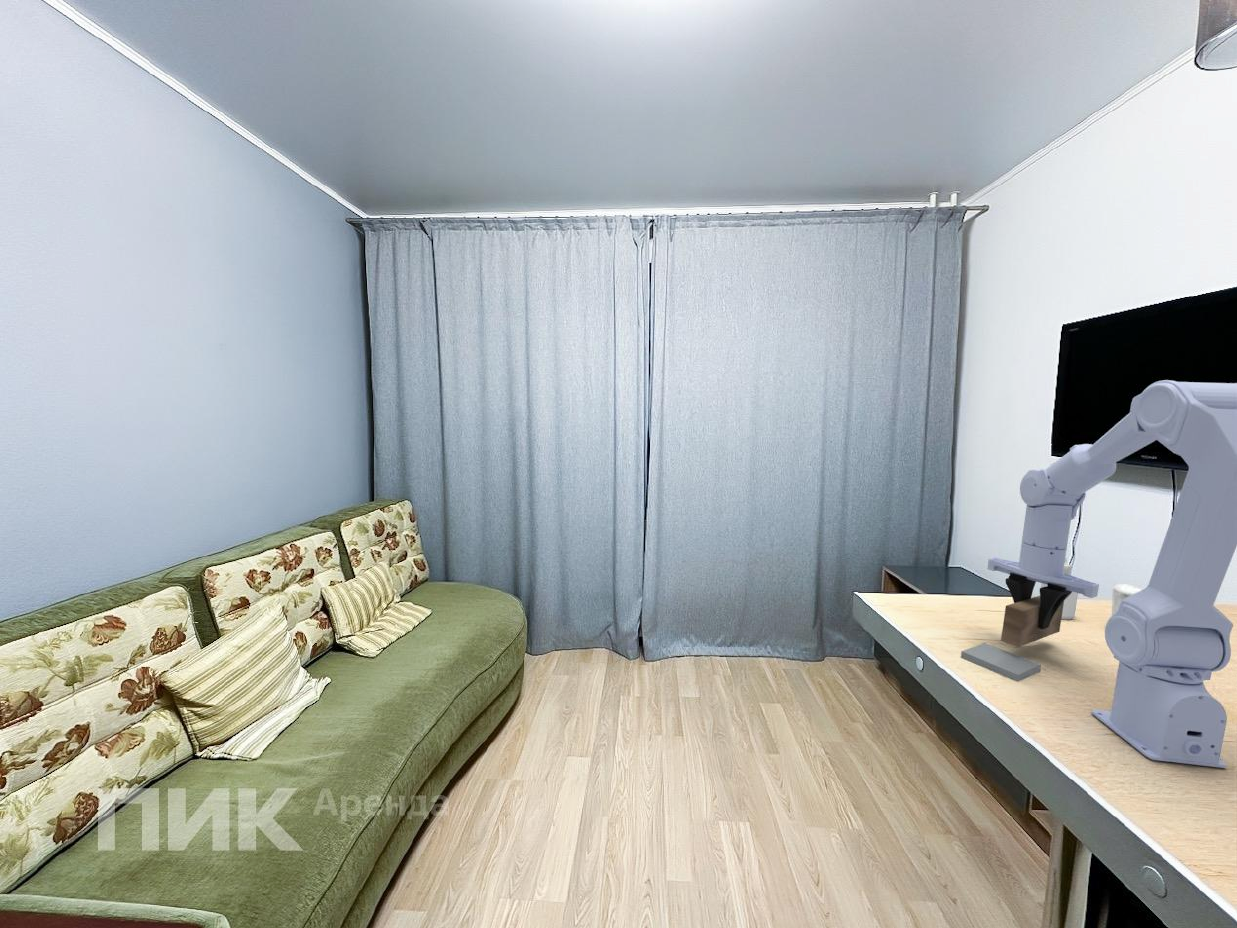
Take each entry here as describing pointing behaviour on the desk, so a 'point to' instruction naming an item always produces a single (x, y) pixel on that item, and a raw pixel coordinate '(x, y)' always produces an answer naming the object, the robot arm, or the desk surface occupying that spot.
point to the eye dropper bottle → (1068, 598)
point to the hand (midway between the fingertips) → (1032, 623)
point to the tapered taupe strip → (1027, 622)
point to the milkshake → (1122, 594)
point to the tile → (1001, 661)
